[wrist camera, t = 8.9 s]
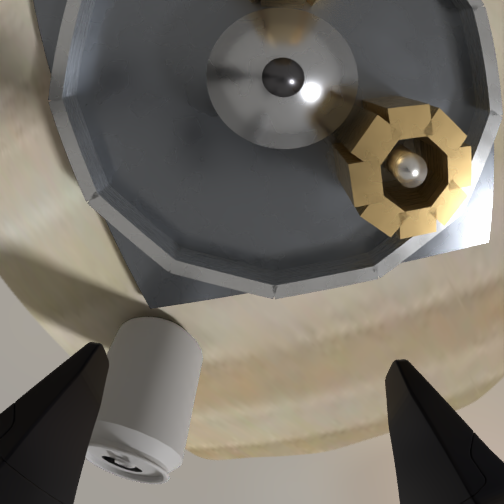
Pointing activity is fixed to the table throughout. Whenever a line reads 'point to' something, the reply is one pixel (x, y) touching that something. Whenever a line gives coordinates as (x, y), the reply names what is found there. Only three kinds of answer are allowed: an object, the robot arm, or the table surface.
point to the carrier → (250, 154)
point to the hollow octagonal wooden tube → (286, 3)
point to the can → (146, 401)
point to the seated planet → (393, 192)
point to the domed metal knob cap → (282, 78)
